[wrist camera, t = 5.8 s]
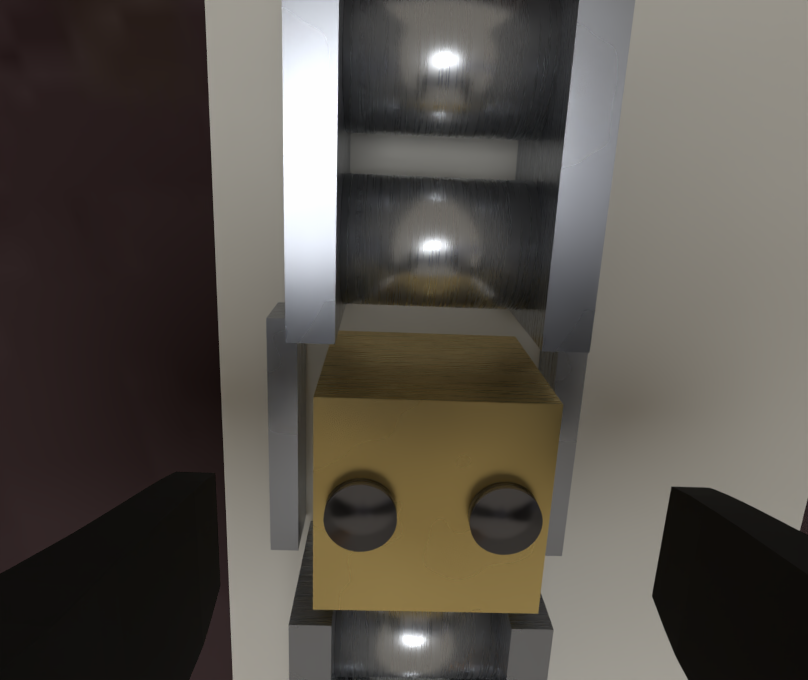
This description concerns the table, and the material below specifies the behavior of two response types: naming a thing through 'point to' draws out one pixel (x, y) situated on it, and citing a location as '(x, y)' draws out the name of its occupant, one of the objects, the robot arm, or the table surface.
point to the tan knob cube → (431, 474)
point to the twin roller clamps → (439, 255)
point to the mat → (613, 321)
